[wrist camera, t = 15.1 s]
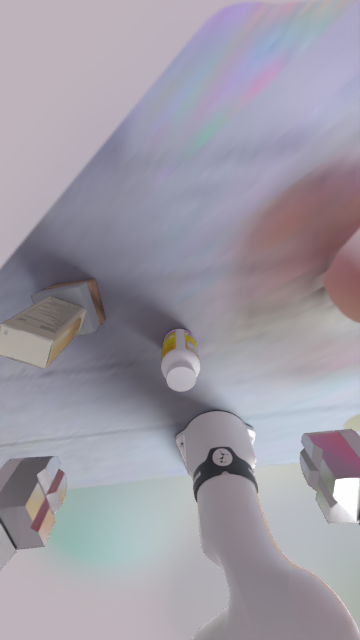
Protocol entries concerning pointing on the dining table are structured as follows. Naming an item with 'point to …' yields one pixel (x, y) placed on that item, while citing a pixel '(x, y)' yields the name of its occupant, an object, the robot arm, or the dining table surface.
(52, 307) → the skincare box
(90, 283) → the tower base
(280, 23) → the dining table surface
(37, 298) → the tower top
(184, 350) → the supplement bottle
